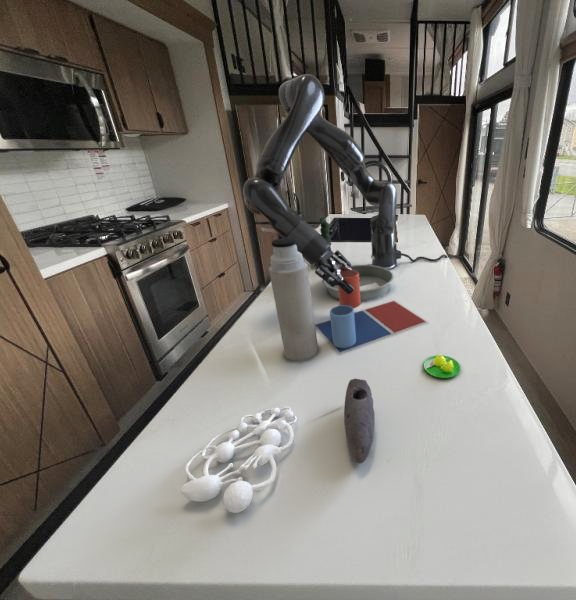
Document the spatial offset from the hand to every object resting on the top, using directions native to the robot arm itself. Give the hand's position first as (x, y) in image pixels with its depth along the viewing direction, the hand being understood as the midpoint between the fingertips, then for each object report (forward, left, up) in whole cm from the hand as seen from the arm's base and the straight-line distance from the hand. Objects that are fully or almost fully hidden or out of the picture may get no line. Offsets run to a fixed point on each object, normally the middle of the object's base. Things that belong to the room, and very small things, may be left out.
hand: (355, 286), depth 87 cm
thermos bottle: (+18, +5, -11) cm, 22 cm away
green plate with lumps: (-6, +29, -11) cm, 32 cm away
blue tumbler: (+8, +8, -10) cm, 15 cm away
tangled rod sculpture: (+36, +29, -11) cm, 48 cm away
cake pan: (-12, -21, -11) cm, 26 cm away
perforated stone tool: (+18, +35, -11) cm, 41 cm away
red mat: (-10, +3, -11) cm, 15 cm away
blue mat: (+3, +3, -11) cm, 12 cm away
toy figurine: (-12, -54, -11) cm, 57 cm away
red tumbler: (+1, -1, -5) cm, 6 cm away
